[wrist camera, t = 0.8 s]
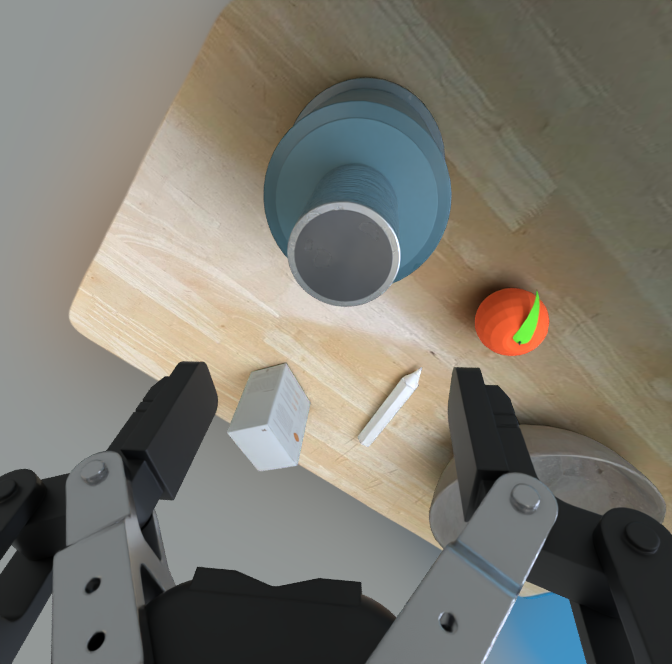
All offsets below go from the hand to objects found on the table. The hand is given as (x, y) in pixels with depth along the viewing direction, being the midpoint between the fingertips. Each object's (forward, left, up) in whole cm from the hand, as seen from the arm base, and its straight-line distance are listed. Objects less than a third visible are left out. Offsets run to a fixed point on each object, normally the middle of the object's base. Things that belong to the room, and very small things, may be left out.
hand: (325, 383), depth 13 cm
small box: (+28, -12, -29) cm, 42 cm away
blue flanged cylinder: (0, 0, -29) cm, 29 cm away
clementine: (+14, +15, -29) cm, 35 cm away
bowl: (+42, +22, -29) cm, 55 cm away
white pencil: (+30, +3, -29) cm, 42 cm away
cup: (0, 0, -18) cm, 18 cm away
